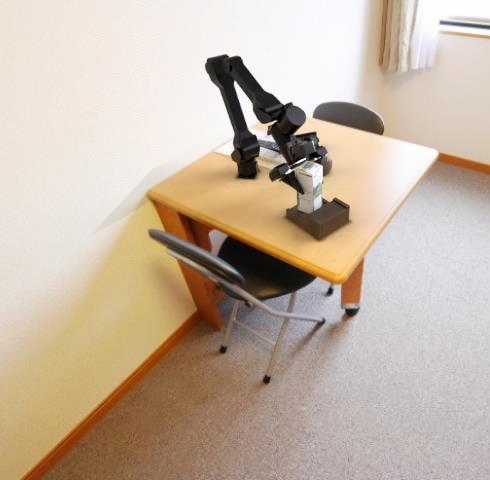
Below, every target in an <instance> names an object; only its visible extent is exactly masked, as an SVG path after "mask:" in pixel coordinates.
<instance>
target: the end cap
mask: <svg viewBox="0 0 490 480" xmlns="http://www.w3.org/2000/svg"><path fill="white" fill-rule="evenodd" d="M311 135H314V136H315V137H316V139H317V141H318V146H317V147H319V146H320V145H319V143H320V138H319V137H318V132H317V131H309V132H303V133H297V134H294V136H295V137H296V139H297V138H299V139H300V140H301V141H302V142H304V141H306V138H307V137H309V136H311ZM317 147H315V148H317Z"/></svg>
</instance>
